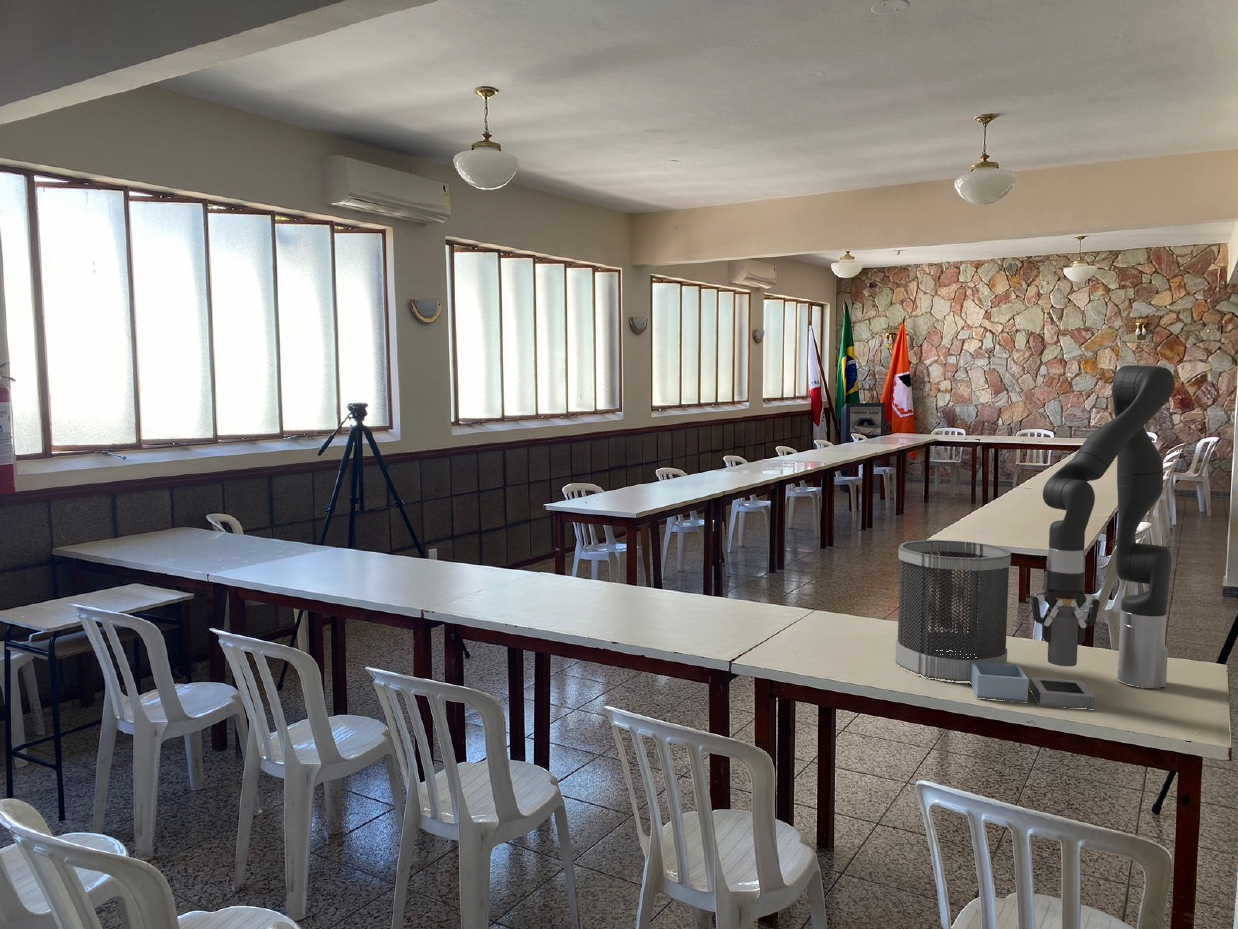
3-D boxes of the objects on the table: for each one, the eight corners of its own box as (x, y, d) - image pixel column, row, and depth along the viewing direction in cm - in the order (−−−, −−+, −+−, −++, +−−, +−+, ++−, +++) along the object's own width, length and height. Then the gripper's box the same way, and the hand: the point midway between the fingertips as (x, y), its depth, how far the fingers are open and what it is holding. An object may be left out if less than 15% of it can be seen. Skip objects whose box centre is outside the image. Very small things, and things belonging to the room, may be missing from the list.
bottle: (1082, 664, 196) (1085, 597, 195) (1067, 668, 193) (1070, 601, 192) (1057, 657, 201) (1059, 592, 200) (1042, 661, 198) (1044, 595, 196)
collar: (1081, 693, 201) (1081, 681, 201) (1094, 710, 191) (1095, 697, 190) (1029, 689, 204) (1029, 677, 204) (1039, 706, 193) (1040, 692, 193)
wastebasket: (954, 648, 237) (958, 538, 235) (1028, 676, 214) (1033, 554, 211) (876, 658, 228) (879, 543, 226) (945, 688, 205) (949, 561, 202)
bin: (1017, 688, 205) (1018, 665, 205) (1027, 703, 195) (1028, 679, 194) (970, 684, 207) (971, 661, 207) (977, 699, 197) (978, 675, 197)
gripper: (1034, 570, 193) (1031, 645, 195) (1106, 573, 189) (1103, 649, 191) (1027, 563, 200) (1024, 635, 202) (1096, 566, 197) (1093, 639, 198)
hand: (1063, 642), depth 196 cm, fingers closed on bottle, 5 cm apart
